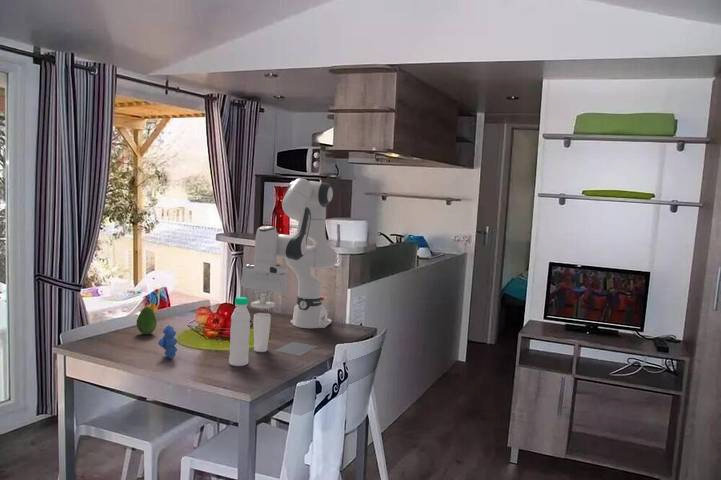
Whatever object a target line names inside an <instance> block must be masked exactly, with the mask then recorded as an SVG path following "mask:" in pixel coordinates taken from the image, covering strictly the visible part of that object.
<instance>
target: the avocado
mask: <svg viewBox="0 0 721 480" xmlns="http://www.w3.org/2000/svg"><path fill="white" fill-rule="evenodd" d="M136 327H137V330H138V332H140V333H141V334H142V335H146V336H148V335H151V334H152V333H153V332H154V331H155V330H156V327H157V318H156V315H155V311H154V309H153V307H151V306H145V307H143V308H142V309H141V311H140V313H139V314H138V316H137V319H136Z"/></svg>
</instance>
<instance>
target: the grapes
mask: <svg viewBox="0 0 721 480" xmlns="http://www.w3.org/2000/svg"><path fill="white" fill-rule="evenodd" d="M162 332H163V336H162V338H160V339H159V340H158V342H157V344H158V346H160V348H162V349H163V350H165V352H164V355H165V356H166V357H167V358H168V359H170V360H173V359H174V358H175V356H176V355H177V354H176V353H177V352H178V348H177V347H176V346H175V345H177V344H178V340H177V338H175V336H176V334H177V333H176V331H175V329H174V327H173V326H172V325H170V324H168V325H167V326H166V327H165V328H164V329H163V330H162Z"/></svg>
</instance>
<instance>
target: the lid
mask: <svg viewBox="0 0 721 480" xmlns="http://www.w3.org/2000/svg"><path fill="white" fill-rule="evenodd" d="M267 296H268V295H267V294H265V293H261V294H260V301H259V300H254V301H251V302H250V307H252V308H256V309H272V308H275V307H276V302H273V301H270V302H266V301H265V297H267Z"/></svg>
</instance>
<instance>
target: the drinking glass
mask: <svg viewBox="0 0 721 480" xmlns="http://www.w3.org/2000/svg"><path fill="white" fill-rule="evenodd" d="M271 318H272V317H271V314H270V313H266V312H258V313H254V314H253V322H252V323H253V351H254V352H258V353H265V352H267V351H268V344H269V338H270V330H271Z"/></svg>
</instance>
